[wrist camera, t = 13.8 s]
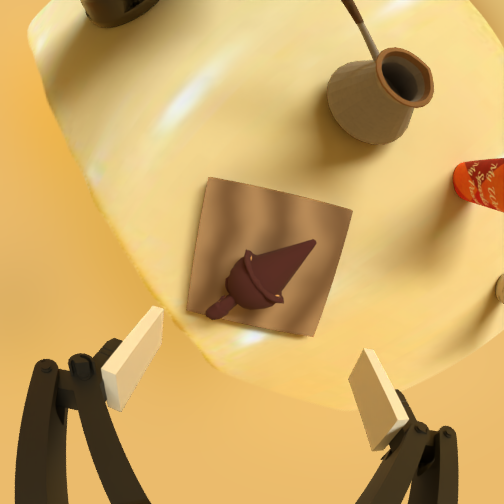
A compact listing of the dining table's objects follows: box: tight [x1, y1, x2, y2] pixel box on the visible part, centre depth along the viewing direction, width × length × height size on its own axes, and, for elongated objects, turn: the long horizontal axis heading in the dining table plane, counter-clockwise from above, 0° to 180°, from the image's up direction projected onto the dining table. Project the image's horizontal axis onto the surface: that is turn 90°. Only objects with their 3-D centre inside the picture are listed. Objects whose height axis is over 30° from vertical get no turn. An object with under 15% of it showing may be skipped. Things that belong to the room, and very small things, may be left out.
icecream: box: [205, 239, 317, 320], centre depth 31 cm, size 7×7×15 cm
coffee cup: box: [453, 158, 504, 212], centre depth 24 cm, size 8×8×15 cm
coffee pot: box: [327, 0, 434, 144], centre depth 22 cm, size 21×12×15 cm, turn 30°
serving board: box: [187, 177, 353, 337], centre depth 35 cm, size 18×18×2 cm
